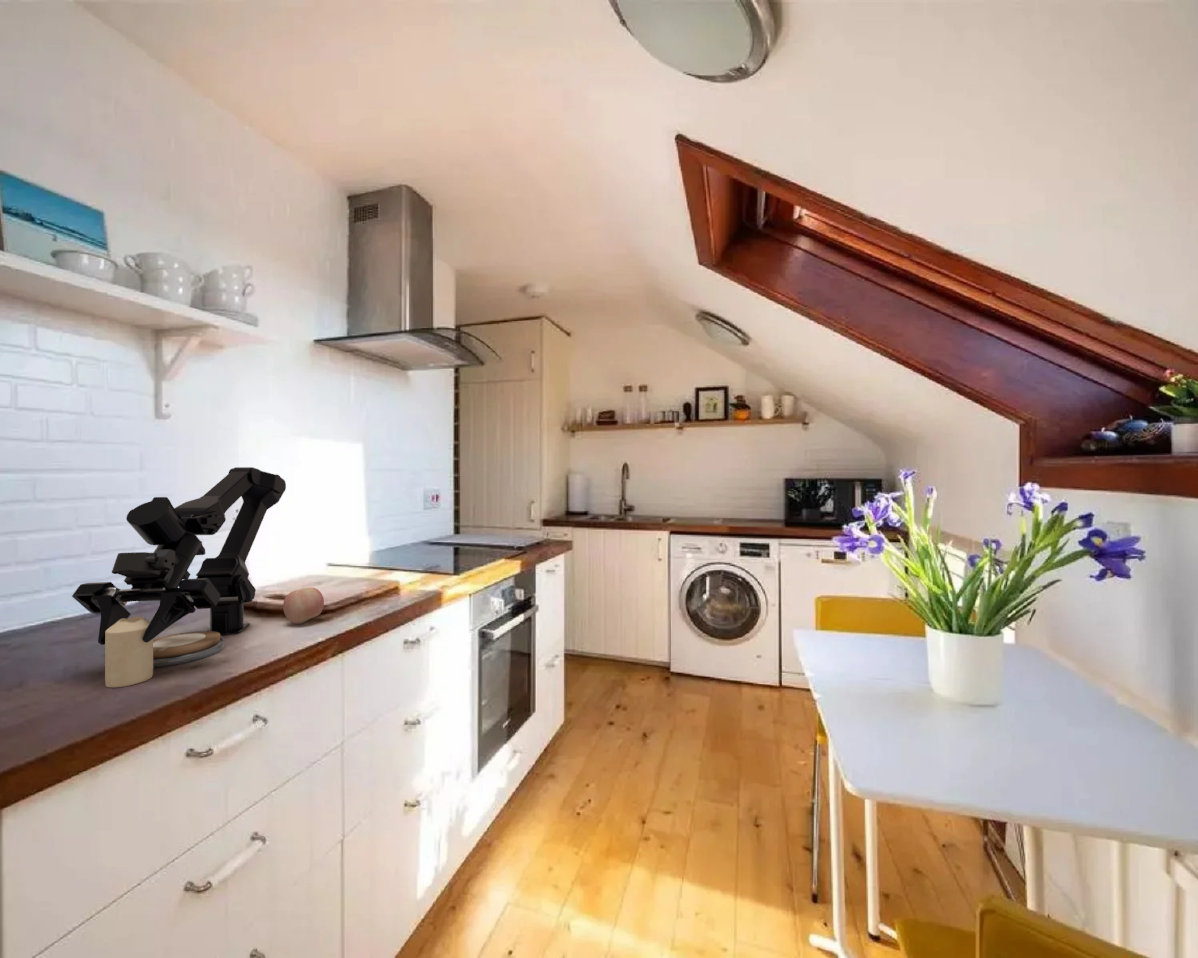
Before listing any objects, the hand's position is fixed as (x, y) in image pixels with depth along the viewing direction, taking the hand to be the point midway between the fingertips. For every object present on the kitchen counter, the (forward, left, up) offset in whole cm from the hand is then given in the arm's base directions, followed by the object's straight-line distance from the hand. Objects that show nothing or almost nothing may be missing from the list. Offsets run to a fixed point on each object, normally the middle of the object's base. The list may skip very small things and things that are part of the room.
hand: (123, 642), depth 76 cm
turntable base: (-13, +1, -7) cm, 15 cm away
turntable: (-13, +1, -5) cm, 14 cm away
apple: (-29, +17, -7) cm, 35 cm away
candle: (-1, 0, -7) cm, 7 cm away
